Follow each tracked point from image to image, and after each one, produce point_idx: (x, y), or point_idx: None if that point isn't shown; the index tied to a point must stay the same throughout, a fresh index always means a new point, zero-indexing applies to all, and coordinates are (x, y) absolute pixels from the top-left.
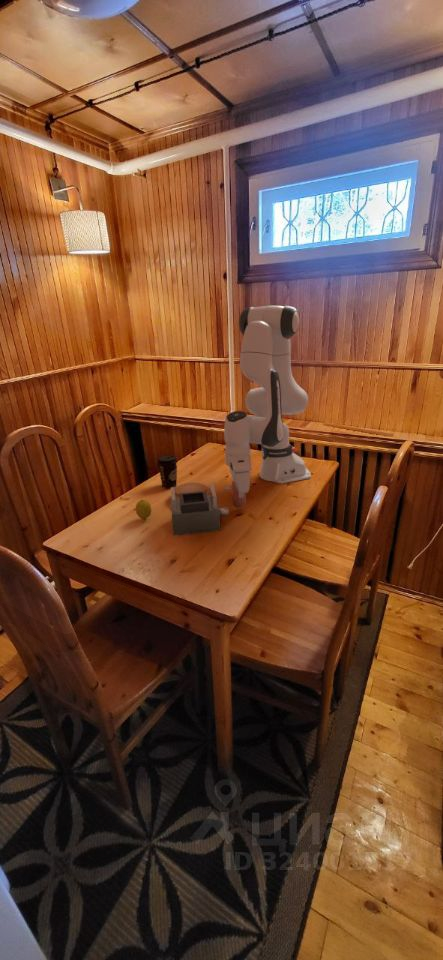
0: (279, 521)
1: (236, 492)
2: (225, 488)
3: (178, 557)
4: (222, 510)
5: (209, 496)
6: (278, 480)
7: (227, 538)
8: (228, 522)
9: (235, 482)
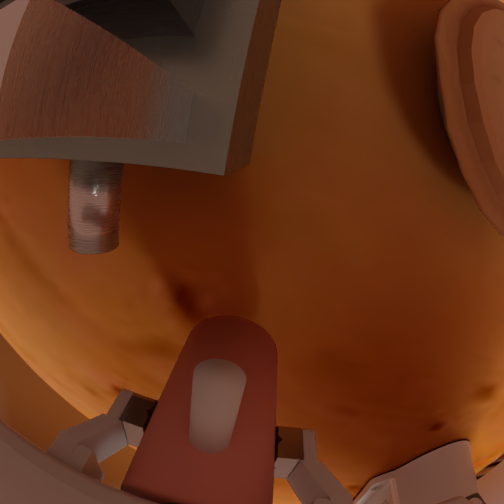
0: (99, 400)
1: (155, 416)
2: (193, 383)
3: None
4: (68, 195)
5: (195, 86)
6: (383, 482)
7: (9, 169)
8: None
9: (48, 498)
